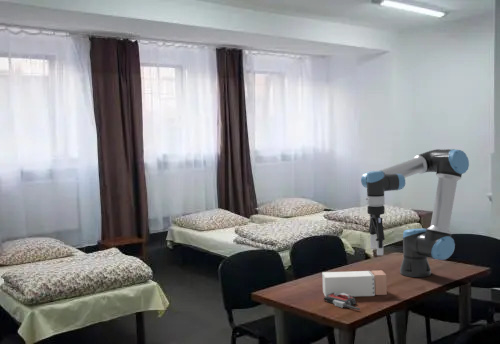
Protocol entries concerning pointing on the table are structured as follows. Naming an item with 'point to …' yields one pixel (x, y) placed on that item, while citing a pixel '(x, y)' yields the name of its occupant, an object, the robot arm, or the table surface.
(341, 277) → the block
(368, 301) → the table surface
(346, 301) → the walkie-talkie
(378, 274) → the peach rectangular block
